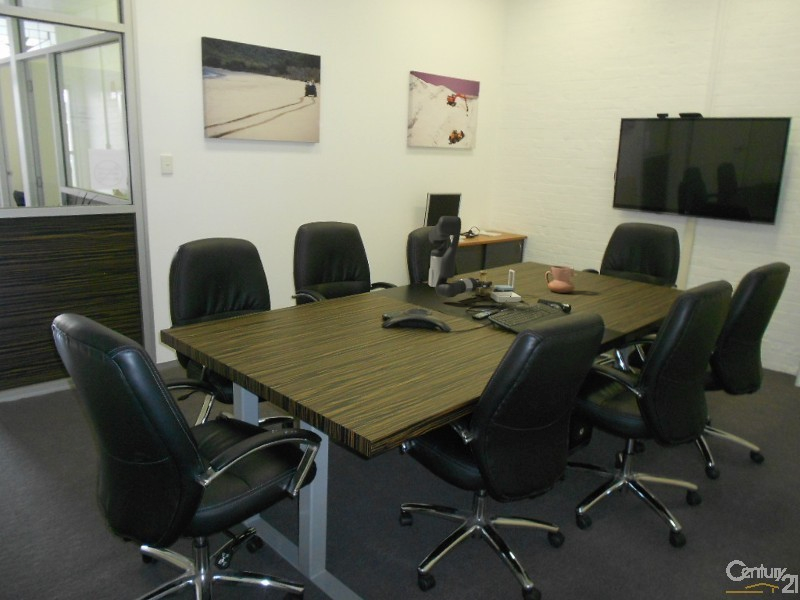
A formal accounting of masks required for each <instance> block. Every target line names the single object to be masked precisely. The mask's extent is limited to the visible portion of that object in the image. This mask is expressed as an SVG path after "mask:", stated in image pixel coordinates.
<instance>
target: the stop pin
mask: <svg viewBox="0 0 800 600" xmlns="http://www.w3.org/2000/svg"><path fill="white" fill-rule="evenodd" d="M478 273H479V281H484V282H487V279H488V278H487V276H488V274H489V270H479V271H478ZM481 285H482V282H481ZM486 290H487V288H485V289H483V288H478V296H479V295H480V296H479V297H485V296H486V294H487V293H486V292H487V291H486Z"/></svg>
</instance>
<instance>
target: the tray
mask: <svg viewBox="0 0 800 600" xmlns="http://www.w3.org/2000/svg"><path fill="white" fill-rule="evenodd" d="M514 292H515V291H514ZM514 292H493V291H491V292H490V298H491V299H493V301H495V302H497V303H506V302H505V301H506V300H507V301H508V302H507V303H519V302H518V301H521V302H522V296H521V295H519V294H517V293H516V292H515V293H514ZM510 296H511V297H510Z"/></svg>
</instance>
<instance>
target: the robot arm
mask: <svg viewBox="0 0 800 600" xmlns="http://www.w3.org/2000/svg"><path fill="white" fill-rule="evenodd" d="M461 231H462V219H461V217H460V216H455V215H454V216H453V215H442V216H440V217H439V219H438V222H437V223H436V225H435V226H433V227H431V228H430V230H429V232H428V240H429V242H430V243H431V244H432V245H433V244H434V245H440V247H437V248H435V249H432V250H431V252H430V261H429V262H430V268H429V269H428V285H429V286H430V287H433V288H434V289H435V292H436V295H437V296H440V297H445V298H455V297H456V296H458V295H461V294H462V295H463V294H467V293H473V292H476V290H477V289H479V288H483V289H485V288H486V289H489V288H491V286H492V285H493V281H492V280H489V281H486V282H484V281H480V278H475V277H466V278H465V277H464V278H461V279H458V280H454V281H452V282H451V283H450V282H448V279H452V278H454V276H455V268H456V257H457V253H458V249H459V243H460V236H461ZM451 236H452V241H451V243H450V245H449V240H450V239H449V238H450V237H451ZM481 282H482V285H481Z"/></svg>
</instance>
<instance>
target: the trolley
mask: <svg viewBox="0 0 800 600" xmlns="http://www.w3.org/2000/svg"><path fill="white" fill-rule="evenodd" d="M511 277H512V279H511ZM515 277H516V271H515V270H513V269H509V271H508V283H507V285H506V284H505V285H504V284H503V285H501V284H498V285H493V290H492V292H514V293H515V294H516V292H515V288H516V287H515V281H516V278H515ZM511 281H512V285H511Z"/></svg>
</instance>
